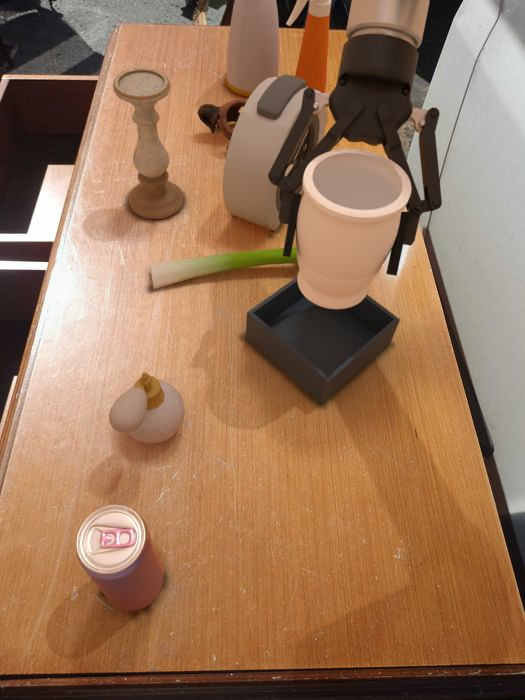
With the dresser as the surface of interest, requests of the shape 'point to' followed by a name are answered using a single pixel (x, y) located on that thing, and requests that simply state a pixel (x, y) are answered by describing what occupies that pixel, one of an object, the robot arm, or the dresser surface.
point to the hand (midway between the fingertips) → (338, 265)
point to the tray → (319, 338)
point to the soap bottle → (252, 45)
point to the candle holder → (149, 144)
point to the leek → (215, 265)
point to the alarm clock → (266, 149)
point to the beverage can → (120, 556)
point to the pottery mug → (221, 116)
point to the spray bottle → (313, 43)
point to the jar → (347, 224)
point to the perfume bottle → (148, 410)
